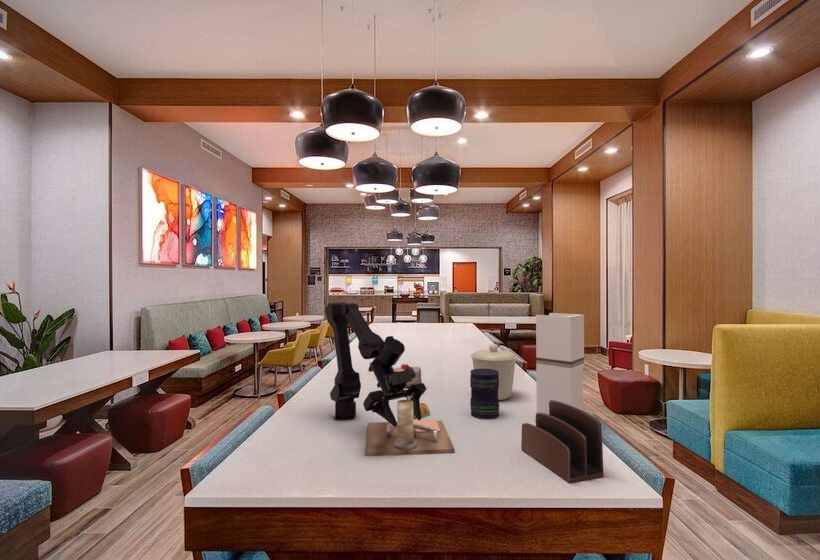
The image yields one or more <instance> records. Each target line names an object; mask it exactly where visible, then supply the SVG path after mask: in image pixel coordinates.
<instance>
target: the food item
mask: <svg viewBox="0 0 820 560" xmlns="http://www.w3.org/2000/svg"><path fill="white" fill-rule="evenodd" d="M409 367H412V368H413V370H414V371H415V375H416V377H415V378H413V379H412V381H411V382H408V383H406V384H407V386H406V387H410V386H411V384H415V383H420V382H421V383H423V382H422V369H421V367H419V366H410V365H409V364H406V363H404V364H401V365H400V367H393V369H394V371H395V372H396V371H398V372H399V371H404V370H405V369H407V368H409Z"/></svg>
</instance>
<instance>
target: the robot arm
mask: <svg viewBox="0 0 820 560" xmlns="http://www.w3.org/2000/svg"><path fill="white" fill-rule="evenodd" d="M324 314H325V316H326V320H327V321H326V322H327V323H328V325H330V327H331V328H332V331H333V338H334V346H335V347H334V348H335V356H336V363H337V364H336V365H337V372H336V375H335V377H334V385H333V387H332V388H331V391H330V393H329V396H330V397H329V398H330V400H331V401H333V402H334V403H335V405H334V408H335V411H334V420H335V421H336V420H354V419H355V417H356V414H357V401H355V399H359V397H360V394H361V389H362V383H361V380H360V379H361V378H360V373H359V371H357V372H356V370H355V369H354V368H353V361H352V354H351V346H350V338H349V332H348V325H350V328H351V329H352V331H353V333H354V334H355V337H356V338H357V340H358V345H357V348H358V350H359V353H360V354H359V355H361V357H362V359H364V360H372V361H371V362H370V363H369V367H368V372H369V373H371V372H373V374H374V376H375V378H376V381H377V384H376V387H377V388H378V389H379V388H380V389H379V390H375V391H369V393H368V395H367V396H366V398H365V399H364V401H363V407H364V410H365V411H366V412H372V413H376V414H377V415H379V416H380V417H382V418H383V419H384V420H385V421H386V422H389V423H390V424H392V425H393V426H394V427H396V426H397V420H396V418H395V415H394V413H393V411H392V409H391V406H390V401H394V400H398V399H401V398H402V399H403V398H405V400H411V401H413V414H414V415H415V417H416V418H415V419H417V420H419V421H420V420H422V417H421V411H420V403H421V401H420V400H421V397H422V396H423V395H424V393H425V392H426V391H427V387H426V385H425V383H424V382H422V383H421V382H420V383H415V384H411V386H410V387H409V388H407V389H406V388H405V387H406V386H407V384H406V383H408V382H411V381H412V379H413V378H415V377H416V375H415V371H414V370H413V368H412V367H413V366H410V367H409V368H407V369H405V370H404V371H399V372H398V371H396V372H395V371H394V369H393V368H394V367H393V366H396V364H397V363H398V361H399V359H401V357H402V355H403V354H404V352H405V351H406V350H405V348H406V347H405V345H404V343H403V342H401V341H400V340H399V339H396V338H394V336H393V335H390V336H389V335H388V336H386V338H385V339H383V338H382V337H381V336H380V335H379V334H377V333H375V332H373V330H372V329H371V328H370V325H369V324H368V322H367V320H366V319H365V318H364V315H363V314H362V313H361V311H360V307H359V304H357V303H356V302H344V301H343V302H342V301H341V302H338V301H337V302H329V303H328V304H327V305H326V306H325V309H324Z"/></svg>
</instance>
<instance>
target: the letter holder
mask: <svg viewBox="0 0 820 560" xmlns="http://www.w3.org/2000/svg"><path fill="white" fill-rule="evenodd" d="M602 436H603V434H602V423H601V421H600V420H599V419H598V418H596V417H594V416H593V415H591V414H590V413H587V412H586V411H584V410H583V411H582V410H580V409H578V408H576V407H573V406H571V405H568V404H565V403H562V402H559V401H554V400H550V401H549V415H548V414H545V413H541V412H537V411H536V413H535V425H533V424H531V423H529V422H522V424H521V442H520V443H521V447H520V449H521V451H522V452H524V453H525V454H527V455H529V456H530V457H531V458H533V459H534V460H536V461H537V463H539V464H541V465H542V466H544V467H545V468H547V470H549V471H551V472H552V473H554V474H555V475H556V476H558V477H560V478H561V479H563V480H564V481H566V482H567V483H568V484H572V483H575V482H576V483H577V482H583V481H589V480H593V479H599V478H603V477H604V475H605V474H604V473H605V472H604V458H603V457H604V456H603V455H604V454H603V453H604V452H603V451H604V449H603V448H604V447H603V437H602Z"/></svg>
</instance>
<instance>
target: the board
mask: <svg viewBox="0 0 820 560" xmlns="http://www.w3.org/2000/svg"><path fill="white" fill-rule="evenodd" d="M436 421H437V423H438V426H439V428H440V432H438V433H437V442H436V443H434V442H433V433H416V436H415V437H414V438H415V439H416V440H417V447H416V448H415V449H412V450H399V449H396V448H395V447H394V440H395V439H397V438H398V428H391V437H387V425H389V424H390V423H389V422H388V421H385V422H383V421H381V422H380V421H379V422H377V421H376V422H367V427H366V435H365V436H366V437H365V438H366V439H365V448H364V456H365V457H373V456H399V455H401V456H402V455H403V456H404V454H405V455H426V454H427V455H428V454H429V455H431V454H454V453H455V447H454V444H453V443H452V440H451V438H450V435H449V433H448V431H447V429H446V427H445V424H444V422H443V420H436Z"/></svg>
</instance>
